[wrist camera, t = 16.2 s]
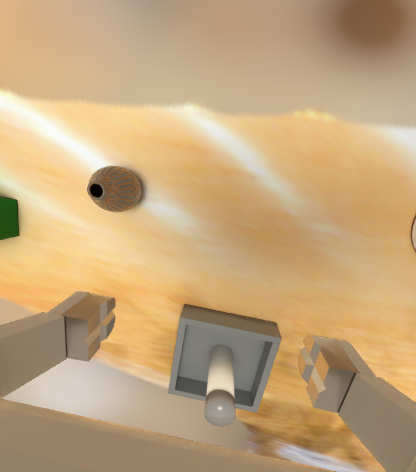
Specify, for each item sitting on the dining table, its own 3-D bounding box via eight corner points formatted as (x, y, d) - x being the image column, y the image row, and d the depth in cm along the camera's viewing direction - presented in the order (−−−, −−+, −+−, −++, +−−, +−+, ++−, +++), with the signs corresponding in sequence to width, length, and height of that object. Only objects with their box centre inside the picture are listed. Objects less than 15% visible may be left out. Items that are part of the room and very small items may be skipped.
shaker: (234, 347, 40) (238, 407, 29) (230, 365, 41) (232, 429, 30) (212, 342, 40) (207, 400, 29) (208, 360, 41) (202, 422, 30)
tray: (275, 322, 39) (281, 338, 35) (254, 392, 43) (257, 412, 39) (184, 304, 39) (180, 317, 35) (173, 374, 44) (168, 393, 40)
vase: (155, 194, 34) (132, 197, 26) (125, 216, 36) (94, 226, 27) (129, 159, 33) (96, 150, 25) (100, 183, 35) (59, 183, 26)
